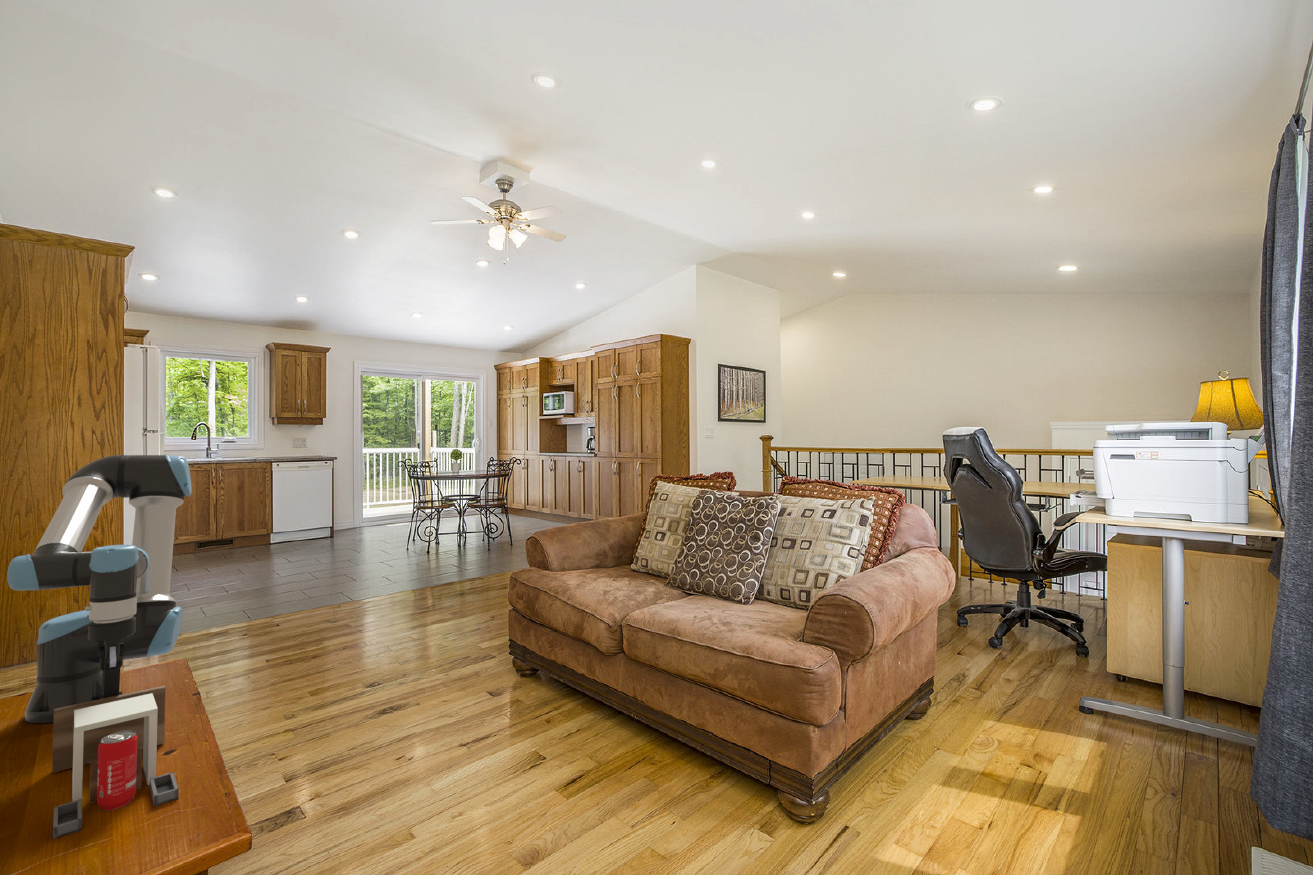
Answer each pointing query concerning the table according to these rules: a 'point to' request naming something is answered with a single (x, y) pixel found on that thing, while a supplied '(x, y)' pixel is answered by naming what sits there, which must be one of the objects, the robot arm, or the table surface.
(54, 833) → the pit
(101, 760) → the beverage can
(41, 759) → the table surface
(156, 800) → the pit
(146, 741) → the tunnel
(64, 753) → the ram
